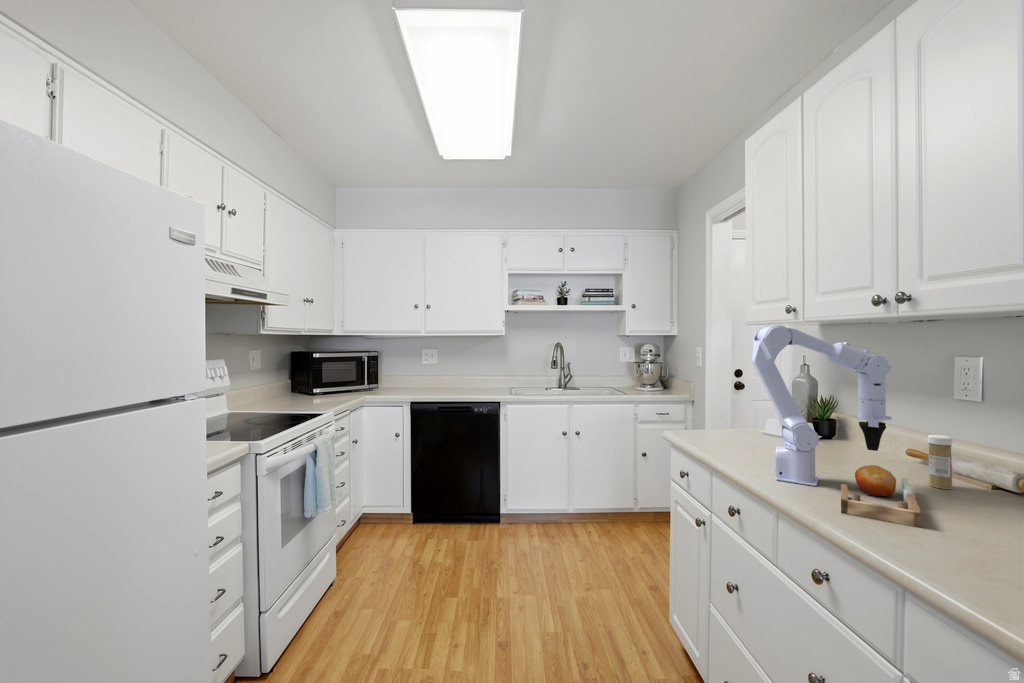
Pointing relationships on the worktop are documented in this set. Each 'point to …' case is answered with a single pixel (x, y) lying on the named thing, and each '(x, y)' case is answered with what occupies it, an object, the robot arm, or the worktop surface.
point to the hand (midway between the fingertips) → (872, 449)
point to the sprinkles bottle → (940, 461)
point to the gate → (906, 488)
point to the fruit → (875, 480)
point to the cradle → (882, 509)
